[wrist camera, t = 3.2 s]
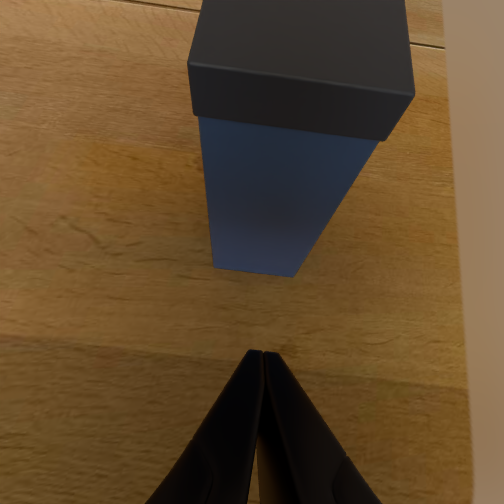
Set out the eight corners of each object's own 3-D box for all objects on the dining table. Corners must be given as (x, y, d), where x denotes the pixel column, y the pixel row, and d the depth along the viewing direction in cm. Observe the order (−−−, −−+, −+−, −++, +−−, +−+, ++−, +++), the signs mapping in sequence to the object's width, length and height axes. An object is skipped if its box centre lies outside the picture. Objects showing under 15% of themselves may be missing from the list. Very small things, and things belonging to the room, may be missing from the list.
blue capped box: (295, 279, 20) (417, 94, 7) (211, 269, 20) (185, 62, 7) (299, 206, 22) (401, -41, 9) (223, 197, 22) (219, -68, 9)
